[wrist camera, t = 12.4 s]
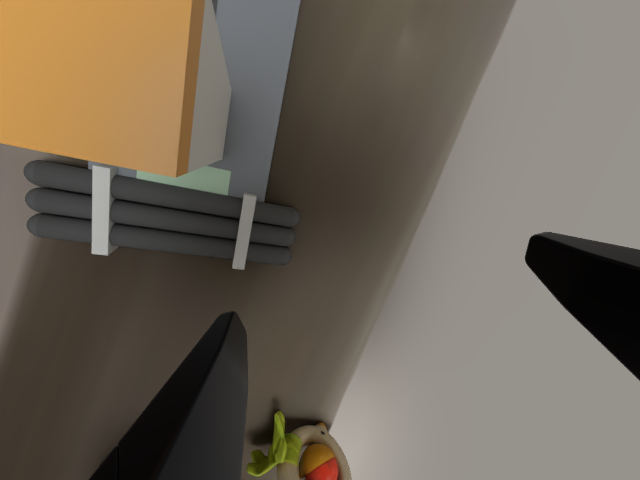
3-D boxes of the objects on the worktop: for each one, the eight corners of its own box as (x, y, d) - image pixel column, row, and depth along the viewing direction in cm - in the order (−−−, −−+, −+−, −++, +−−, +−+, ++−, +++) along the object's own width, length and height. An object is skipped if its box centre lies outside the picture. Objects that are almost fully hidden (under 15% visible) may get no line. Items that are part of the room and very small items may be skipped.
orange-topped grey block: (222, 159, 16) (175, 177, 5) (149, 142, 15) (-111, 121, 4) (231, 90, 15) (198, -63, 4) (154, 66, 14) (-173, -238, 3)
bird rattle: (323, 384, 29) (249, 409, 22) (406, 494, 21) (329, 579, 15) (301, 427, 30) (226, 462, 24) (372, 546, 22) (289, 644, 16)
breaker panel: (262, 203, 19) (263, 205, 18) (93, 171, 16) (87, 172, 15) (309, -53, 15) (311, -62, 14) (97, -165, 12) (89, -182, 11)
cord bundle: (300, 202, 19) (305, 206, 18) (286, 266, 21) (289, 274, 19) (34, 149, 15) (12, 149, 13) (38, 237, 16) (19, 246, 15)
